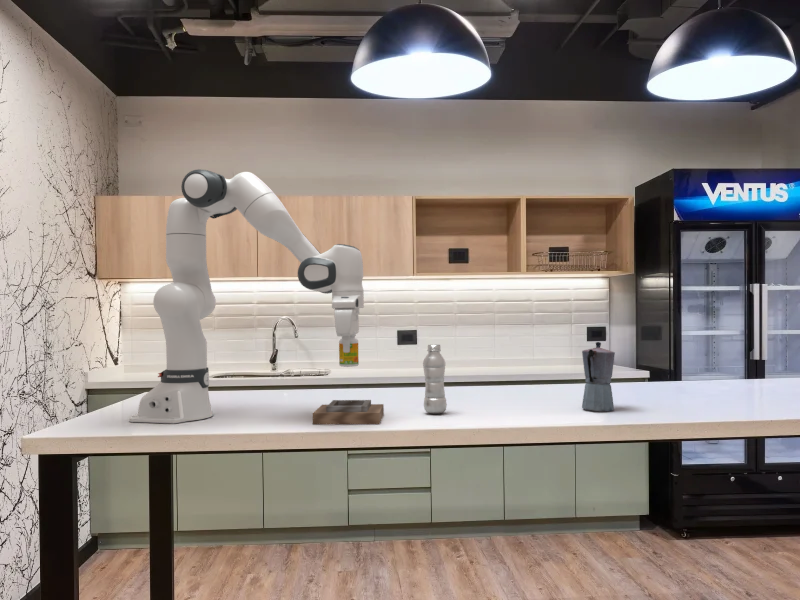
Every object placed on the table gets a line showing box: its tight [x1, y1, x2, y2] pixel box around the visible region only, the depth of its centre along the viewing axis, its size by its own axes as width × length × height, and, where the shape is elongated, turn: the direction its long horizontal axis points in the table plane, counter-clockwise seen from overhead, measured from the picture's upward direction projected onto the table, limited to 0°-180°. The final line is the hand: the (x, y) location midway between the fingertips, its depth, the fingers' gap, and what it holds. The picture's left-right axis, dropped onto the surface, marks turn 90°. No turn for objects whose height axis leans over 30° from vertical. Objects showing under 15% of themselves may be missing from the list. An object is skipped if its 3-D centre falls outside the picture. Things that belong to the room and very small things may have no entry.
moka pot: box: [581, 341, 616, 412], centre depth 167 cm, size 10×15×20 cm, turn 148°
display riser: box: [312, 399, 385, 425], centre depth 158 cm, size 18×14×4 cm
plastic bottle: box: [422, 344, 448, 415], centre depth 165 cm, size 6×7×20 cm
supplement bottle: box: [338, 331, 360, 368], centre depth 158 cm, size 5×5×10 cm
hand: (348, 351), depth 158 cm, fingers closed on supplement bottle, 5 cm apart
